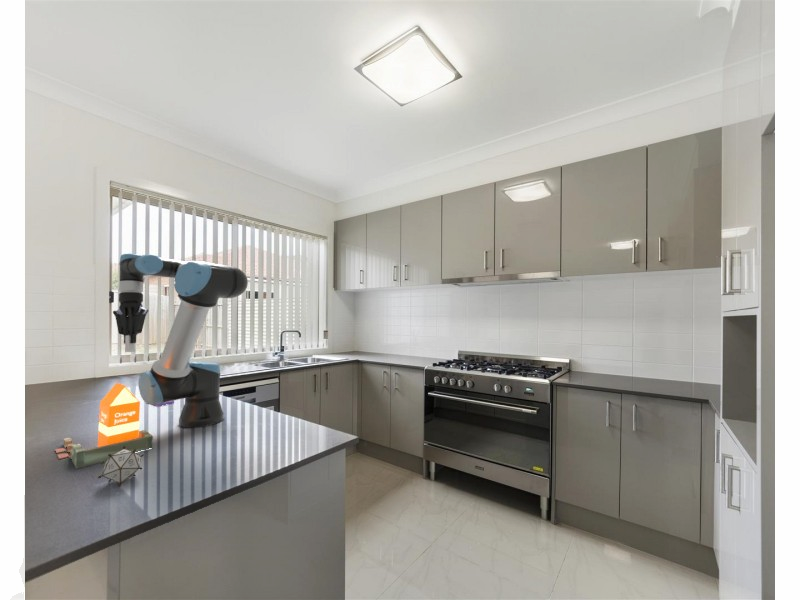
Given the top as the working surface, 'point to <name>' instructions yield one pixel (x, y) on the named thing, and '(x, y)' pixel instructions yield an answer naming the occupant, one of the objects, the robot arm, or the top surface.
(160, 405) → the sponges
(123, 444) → the tray
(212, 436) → the top surface
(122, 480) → the game die
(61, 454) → the trap strips
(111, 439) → the orange juice
